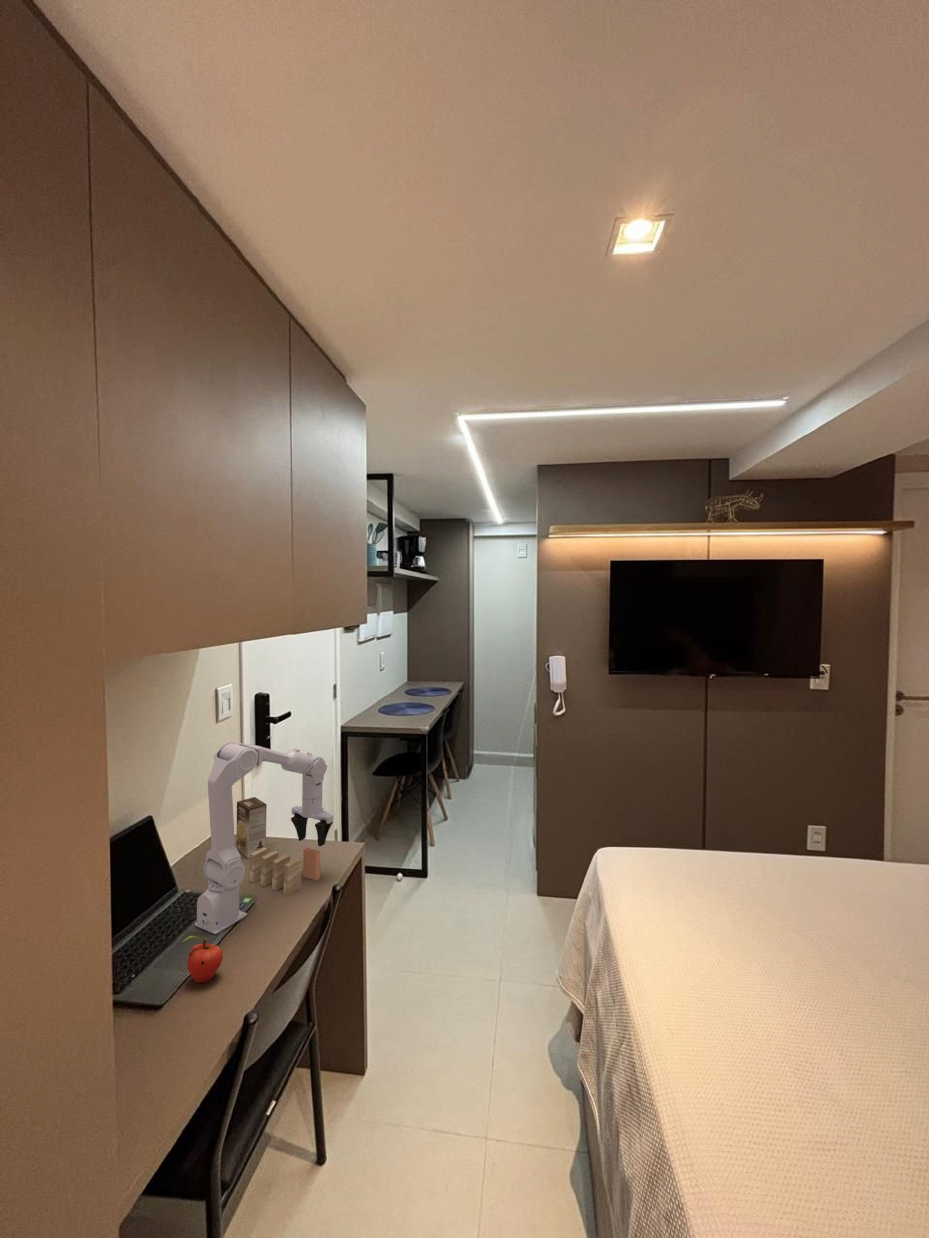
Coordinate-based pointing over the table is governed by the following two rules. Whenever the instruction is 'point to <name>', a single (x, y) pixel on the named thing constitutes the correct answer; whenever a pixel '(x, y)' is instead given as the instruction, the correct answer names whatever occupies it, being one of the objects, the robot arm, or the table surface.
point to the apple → (204, 960)
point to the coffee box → (251, 826)
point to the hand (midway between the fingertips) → (311, 842)
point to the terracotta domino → (311, 864)
